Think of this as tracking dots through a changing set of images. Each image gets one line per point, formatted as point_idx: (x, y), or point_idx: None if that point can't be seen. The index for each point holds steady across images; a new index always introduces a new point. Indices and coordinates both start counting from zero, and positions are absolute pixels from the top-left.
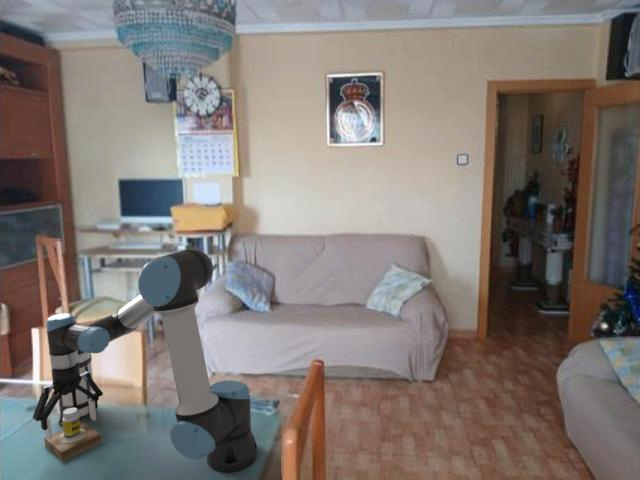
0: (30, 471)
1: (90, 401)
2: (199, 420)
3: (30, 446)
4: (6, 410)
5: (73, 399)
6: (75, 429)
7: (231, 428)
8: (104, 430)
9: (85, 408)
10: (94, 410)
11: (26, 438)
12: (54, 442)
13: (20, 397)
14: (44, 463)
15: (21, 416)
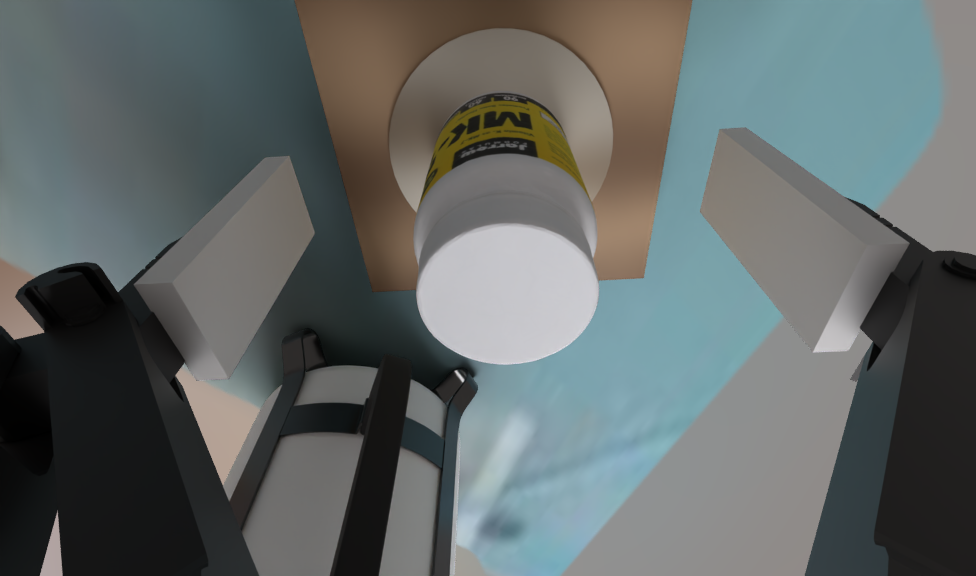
0: (876, 8)
1: (206, 324)
2: None
3: (670, 301)
4: (573, 556)
5: (387, 471)
6: (497, 113)
7: None
8: (262, 147)
9: (318, 396)
10: (225, 207)
11: (637, 375)
12: (638, 169)
13: None
14: (755, 38)
15: (558, 509)
